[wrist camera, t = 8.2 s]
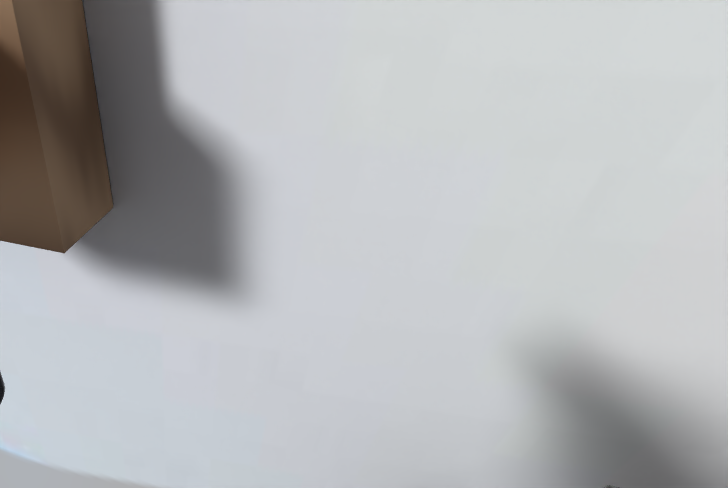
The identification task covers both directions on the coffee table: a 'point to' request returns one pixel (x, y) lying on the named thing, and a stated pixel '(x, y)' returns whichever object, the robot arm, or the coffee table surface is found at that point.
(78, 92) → the base slab
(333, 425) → the coffee table surface
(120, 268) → the coffee table surface
